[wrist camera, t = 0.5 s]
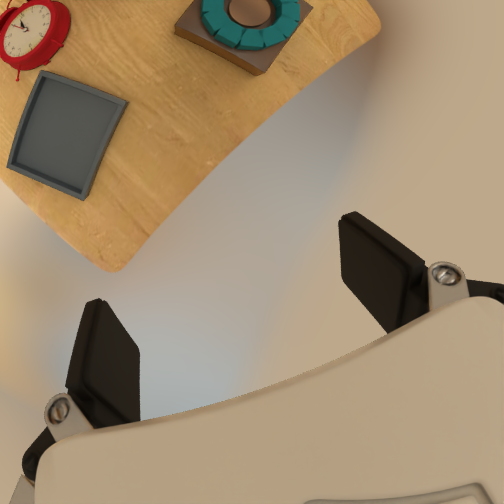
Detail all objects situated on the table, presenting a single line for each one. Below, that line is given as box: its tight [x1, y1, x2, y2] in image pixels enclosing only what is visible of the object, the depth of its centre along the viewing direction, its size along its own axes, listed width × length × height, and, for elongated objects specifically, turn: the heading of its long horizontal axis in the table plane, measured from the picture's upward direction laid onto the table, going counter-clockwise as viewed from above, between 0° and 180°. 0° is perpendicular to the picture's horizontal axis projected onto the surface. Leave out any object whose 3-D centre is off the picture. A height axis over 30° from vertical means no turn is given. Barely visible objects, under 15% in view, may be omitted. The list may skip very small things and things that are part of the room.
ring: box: [200, 0, 300, 51], centre depth 22 cm, size 11×11×2 cm
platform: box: [175, 0, 313, 76], centre depth 24 cm, size 12×12×5 cm
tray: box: [7, 70, 129, 201], centre depth 26 cm, size 13×13×2 cm
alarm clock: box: [0, 0, 70, 81], centre depth 16 cm, size 10×6×15 cm
